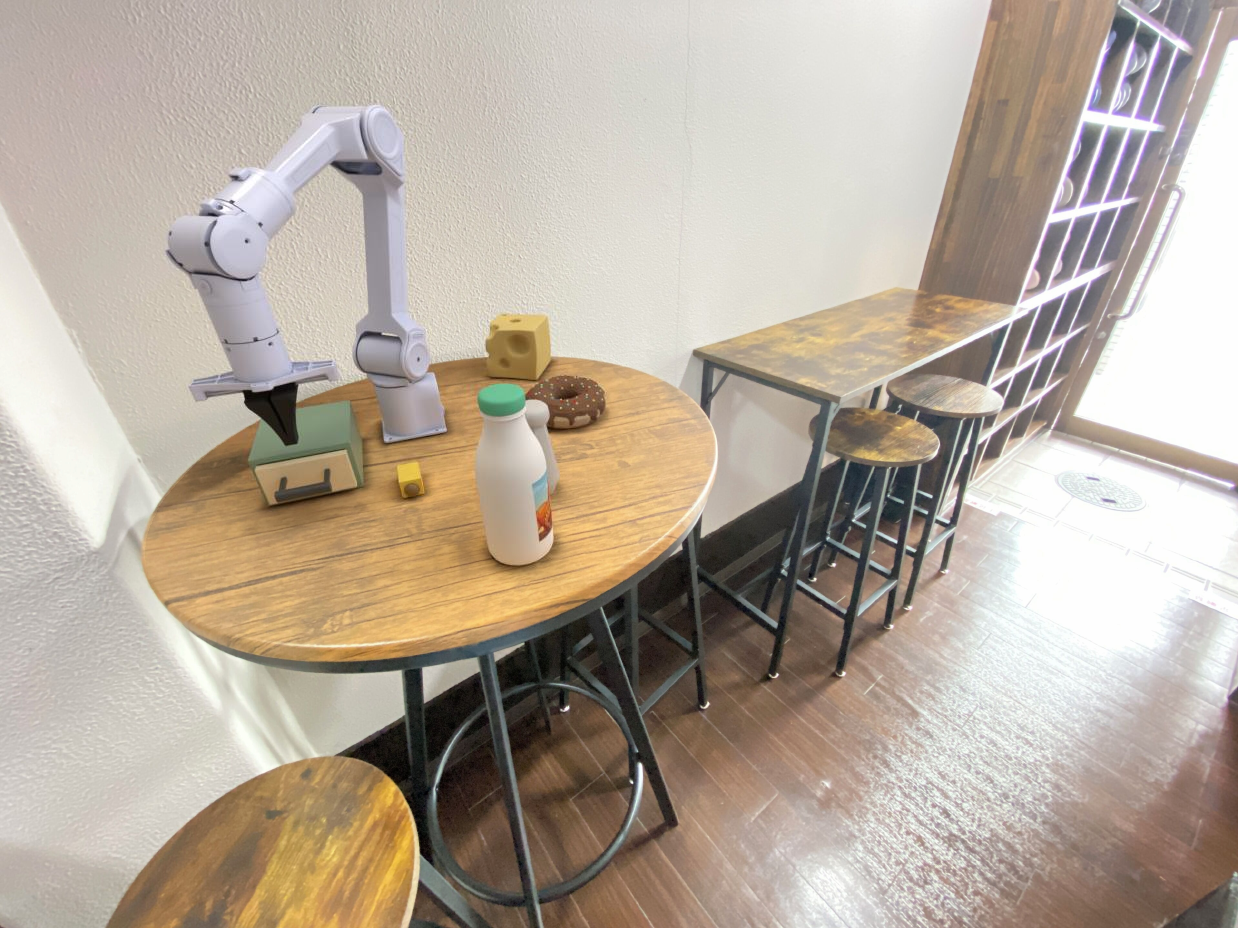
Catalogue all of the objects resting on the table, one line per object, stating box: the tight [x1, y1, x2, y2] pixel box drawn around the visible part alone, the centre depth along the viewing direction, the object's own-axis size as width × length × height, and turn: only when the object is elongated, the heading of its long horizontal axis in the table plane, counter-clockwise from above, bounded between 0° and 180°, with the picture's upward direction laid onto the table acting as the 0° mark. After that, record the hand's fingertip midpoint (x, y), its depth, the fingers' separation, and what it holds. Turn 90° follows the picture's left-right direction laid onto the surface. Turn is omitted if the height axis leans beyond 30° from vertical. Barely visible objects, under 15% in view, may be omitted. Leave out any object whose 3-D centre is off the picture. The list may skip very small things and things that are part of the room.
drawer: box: [255, 449, 357, 506], centre depth 72 cm, size 17×10×5 cm, turn 23°
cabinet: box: [247, 399, 364, 507], centre depth 75 cm, size 14×12×7 cm
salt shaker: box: [524, 400, 561, 496], centre depth 69 cm, size 6×6×13 cm
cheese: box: [484, 312, 552, 381], centre depth 105 cm, size 10×11×10 cm
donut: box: [525, 374, 607, 430], centre depth 90 cm, size 14×14×5 cm
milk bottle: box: [474, 382, 554, 566], centre depth 58 cm, size 8×8×20 cm
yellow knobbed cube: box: [396, 461, 426, 499], centre depth 73 cm, size 3×6×3 cm, turn 22°
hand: (292, 441), depth 66 cm, fingers closed
